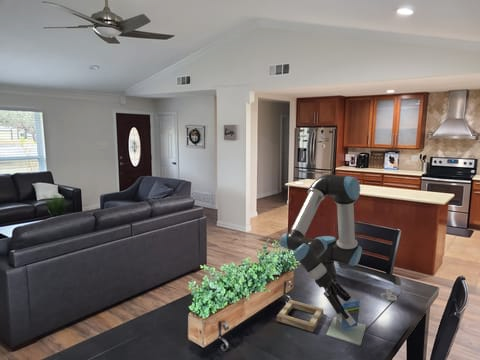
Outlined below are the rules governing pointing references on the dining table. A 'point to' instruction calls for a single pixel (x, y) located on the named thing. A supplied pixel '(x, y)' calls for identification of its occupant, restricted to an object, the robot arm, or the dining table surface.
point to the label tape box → (353, 311)
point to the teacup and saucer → (389, 295)
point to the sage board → (347, 333)
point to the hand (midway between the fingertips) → (355, 318)
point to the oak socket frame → (297, 322)
